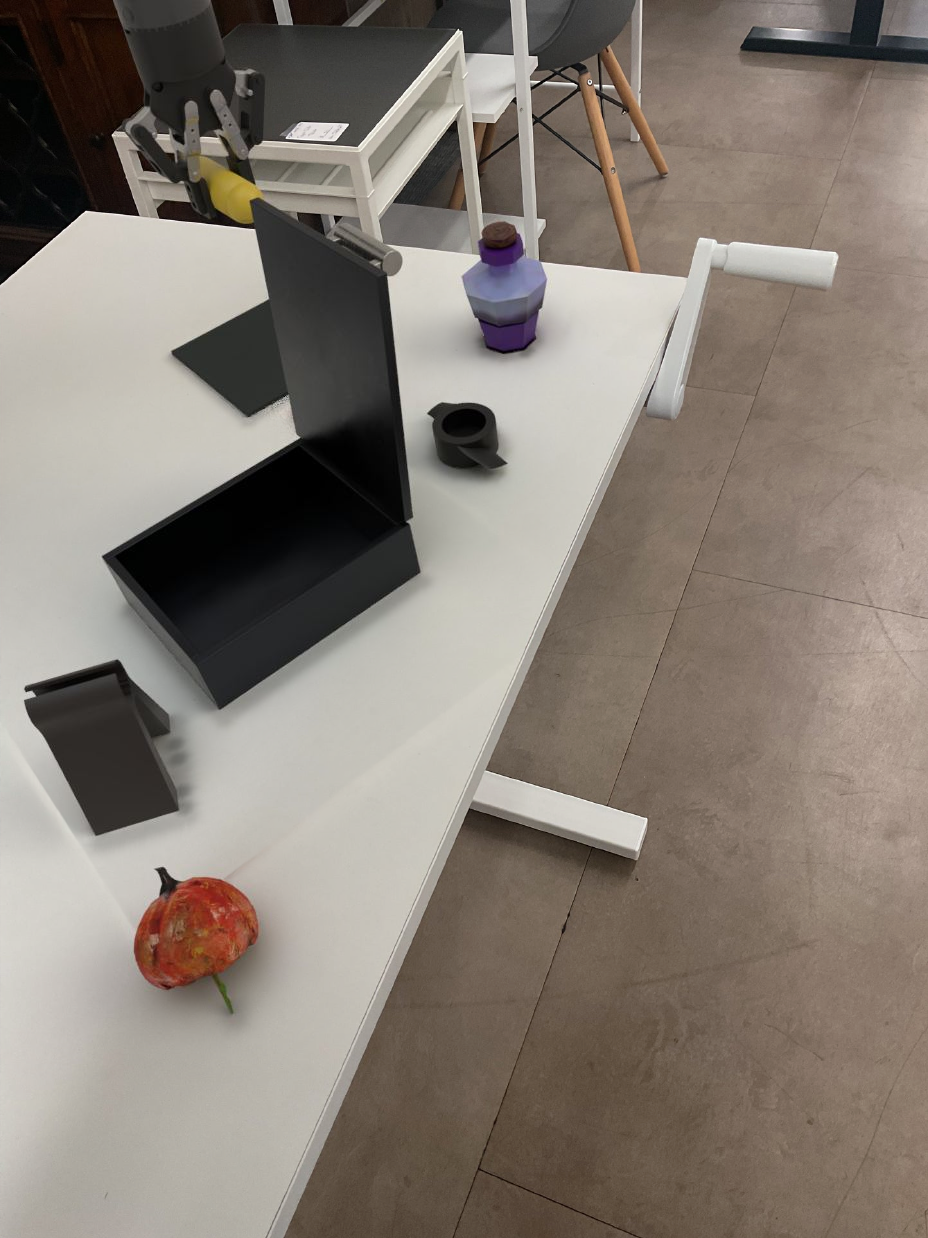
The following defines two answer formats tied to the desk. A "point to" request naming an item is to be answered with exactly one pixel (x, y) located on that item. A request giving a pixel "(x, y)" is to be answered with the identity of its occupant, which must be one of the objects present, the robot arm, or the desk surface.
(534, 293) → the potion bottle
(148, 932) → the painted toy pumpkin
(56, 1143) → the desk surface
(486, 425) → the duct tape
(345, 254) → the lid
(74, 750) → the phone stand
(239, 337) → the mat
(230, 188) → the yellow capsule
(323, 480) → the black open box
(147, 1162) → the desk surface
